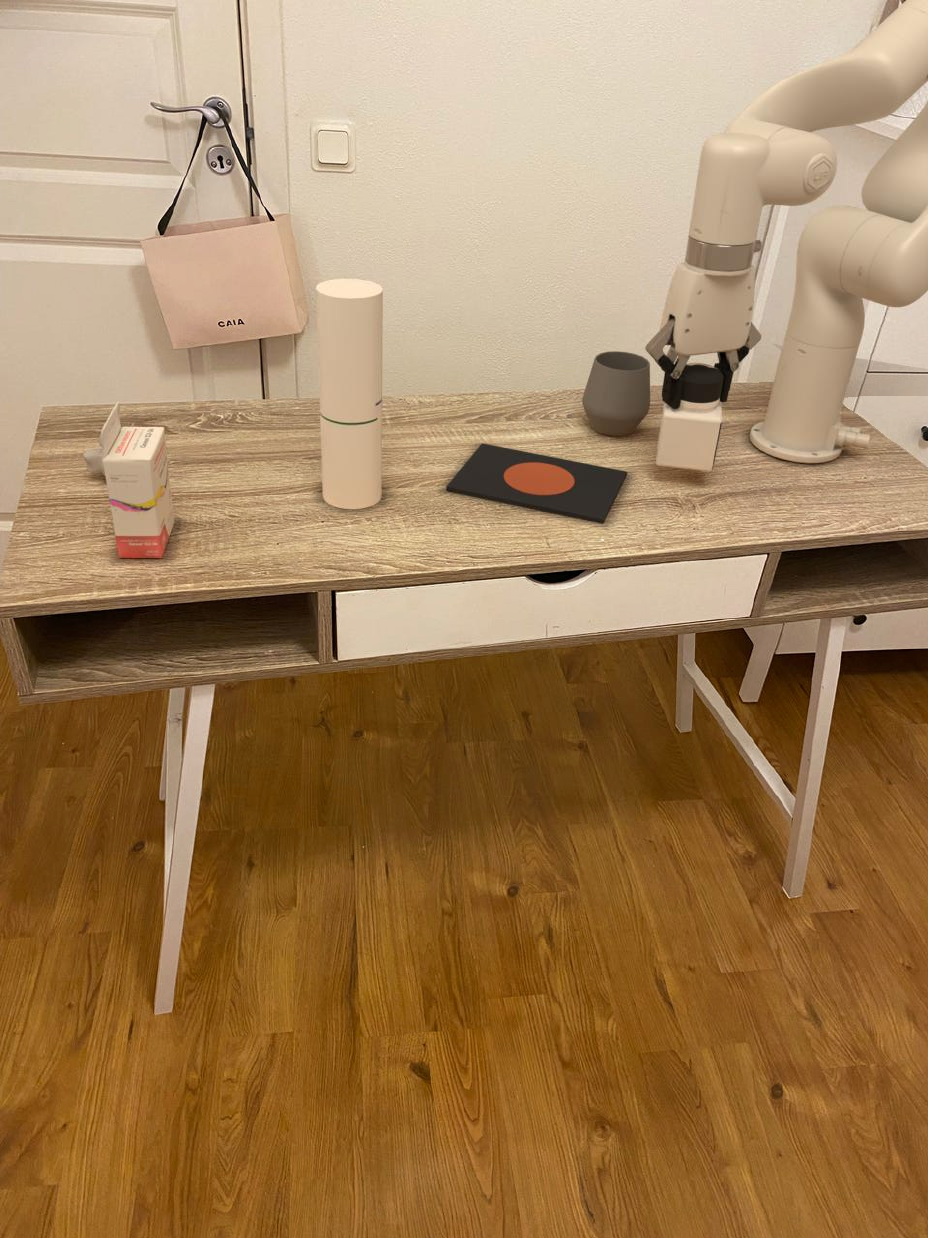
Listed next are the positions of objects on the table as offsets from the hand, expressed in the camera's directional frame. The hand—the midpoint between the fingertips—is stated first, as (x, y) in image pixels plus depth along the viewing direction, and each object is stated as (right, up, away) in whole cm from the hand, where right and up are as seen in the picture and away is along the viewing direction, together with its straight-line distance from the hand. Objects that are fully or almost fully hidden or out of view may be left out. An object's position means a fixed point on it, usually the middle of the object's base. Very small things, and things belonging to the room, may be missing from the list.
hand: (694, 400), depth 124 cm
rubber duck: (-71, -10, -2) cm, 72 cm away
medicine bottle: (0, -7, +5) cm, 8 cm away
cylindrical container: (-42, -12, -3) cm, 44 cm away
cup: (-8, 0, +18) cm, 19 cm away
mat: (-19, -10, +2) cm, 22 cm away
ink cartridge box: (-64, -19, -14) cm, 68 cm away
